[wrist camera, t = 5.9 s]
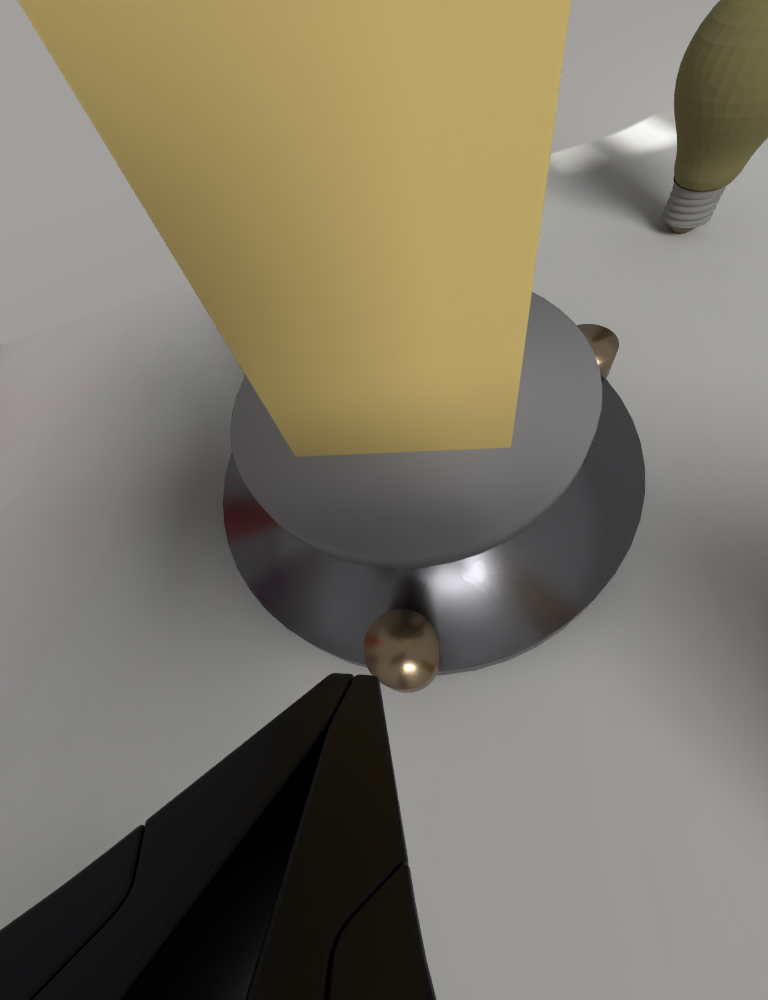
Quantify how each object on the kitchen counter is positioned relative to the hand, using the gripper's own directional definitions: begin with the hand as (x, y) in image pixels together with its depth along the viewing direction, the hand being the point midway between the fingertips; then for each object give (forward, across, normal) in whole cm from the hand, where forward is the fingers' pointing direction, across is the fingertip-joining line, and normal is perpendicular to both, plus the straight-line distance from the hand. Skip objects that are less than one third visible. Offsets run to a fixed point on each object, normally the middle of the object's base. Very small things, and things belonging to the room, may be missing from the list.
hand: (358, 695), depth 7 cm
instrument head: (+11, 0, -4) cm, 11 cm away
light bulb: (+25, -15, -13) cm, 32 cm away
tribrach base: (+13, 0, -1) cm, 13 cm away
